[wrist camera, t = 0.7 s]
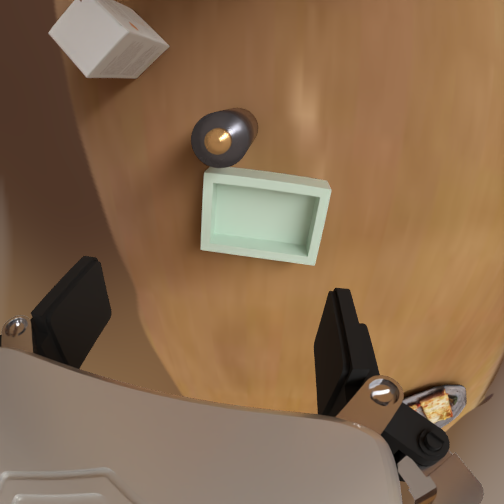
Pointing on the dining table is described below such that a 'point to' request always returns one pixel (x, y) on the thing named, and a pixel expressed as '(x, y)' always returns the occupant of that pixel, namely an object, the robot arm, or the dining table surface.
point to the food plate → (439, 403)
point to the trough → (263, 214)
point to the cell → (224, 137)
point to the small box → (107, 39)
